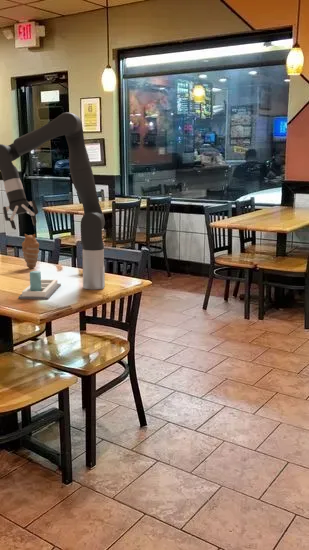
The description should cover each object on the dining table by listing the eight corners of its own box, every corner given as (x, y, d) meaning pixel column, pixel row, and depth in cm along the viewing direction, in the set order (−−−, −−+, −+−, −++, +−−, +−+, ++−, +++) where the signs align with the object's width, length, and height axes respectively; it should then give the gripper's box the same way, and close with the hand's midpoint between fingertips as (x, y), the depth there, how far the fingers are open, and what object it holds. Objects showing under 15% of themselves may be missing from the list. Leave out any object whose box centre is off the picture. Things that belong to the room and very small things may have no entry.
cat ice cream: (21, 269, 272) (20, 234, 268) (24, 267, 279) (22, 232, 276) (39, 269, 273) (38, 234, 269) (41, 266, 280) (40, 232, 276)
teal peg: (42, 292, 221) (41, 271, 219) (40, 295, 217) (39, 273, 215) (32, 292, 221) (31, 271, 219) (29, 294, 217) (28, 273, 215)
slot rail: (60, 285, 239) (60, 279, 238) (48, 299, 214) (47, 292, 214) (34, 284, 239) (34, 278, 238) (18, 298, 214) (18, 292, 214)
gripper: (-2, 192, 224) (9, 229, 225) (32, 185, 229) (42, 222, 230) (-3, 195, 231) (7, 232, 232) (30, 189, 236) (39, 224, 237)
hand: (25, 227), depth 231 cm, fingers open, 8 cm apart
